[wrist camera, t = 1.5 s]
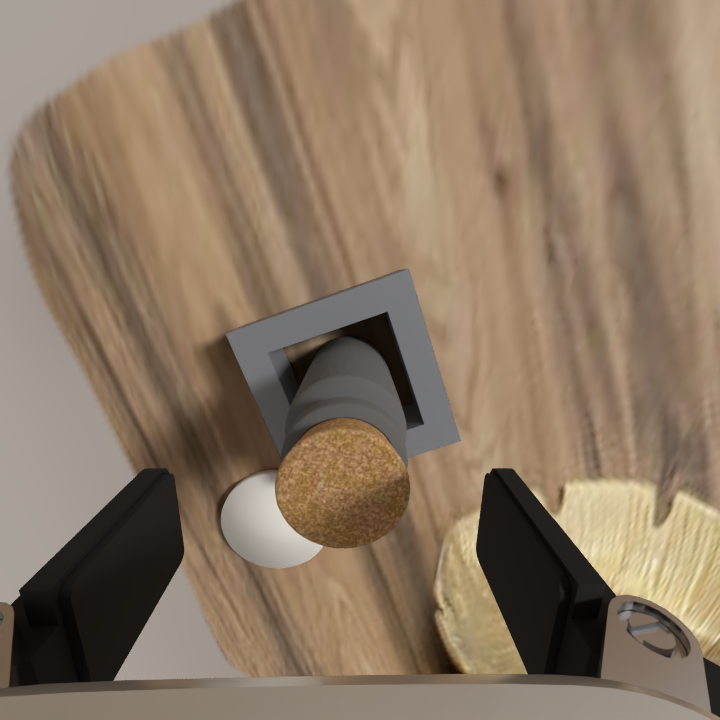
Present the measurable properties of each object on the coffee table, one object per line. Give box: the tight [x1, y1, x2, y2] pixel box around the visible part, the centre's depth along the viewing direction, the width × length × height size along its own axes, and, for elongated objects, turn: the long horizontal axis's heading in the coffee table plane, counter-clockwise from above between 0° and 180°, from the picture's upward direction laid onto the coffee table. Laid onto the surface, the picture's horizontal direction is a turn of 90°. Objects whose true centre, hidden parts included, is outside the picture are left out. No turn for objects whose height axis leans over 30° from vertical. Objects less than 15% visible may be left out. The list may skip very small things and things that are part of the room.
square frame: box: [226, 269, 461, 457], centre depth 25 cm, size 12×12×4 cm
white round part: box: [221, 470, 323, 568], centre depth 29 cm, size 9×9×1 cm
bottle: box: [275, 336, 410, 548], centre depth 19 cm, size 6×6×15 cm
